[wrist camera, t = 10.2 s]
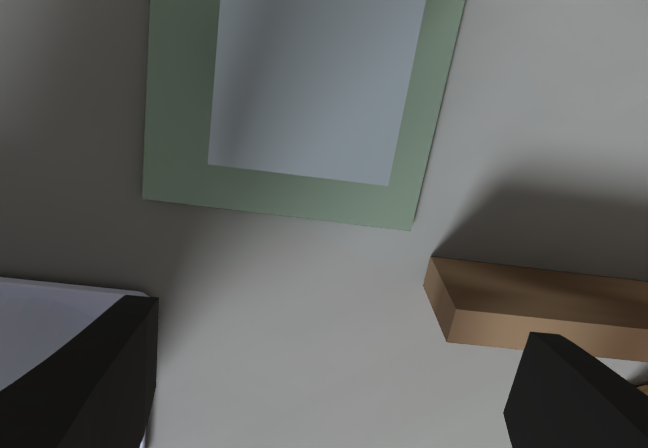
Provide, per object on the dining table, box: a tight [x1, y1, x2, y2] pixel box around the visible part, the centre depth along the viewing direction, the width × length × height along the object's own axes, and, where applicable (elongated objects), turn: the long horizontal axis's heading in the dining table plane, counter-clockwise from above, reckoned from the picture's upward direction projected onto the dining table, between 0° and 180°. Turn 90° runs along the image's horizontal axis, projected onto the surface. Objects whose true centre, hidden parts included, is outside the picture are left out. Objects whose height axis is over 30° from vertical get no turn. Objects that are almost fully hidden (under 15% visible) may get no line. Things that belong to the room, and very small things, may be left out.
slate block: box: [208, 0, 426, 186], centre depth 15 cm, size 4×4×6 cm
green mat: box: [142, 0, 465, 231], centre depth 18 cm, size 9×11×1 cm
